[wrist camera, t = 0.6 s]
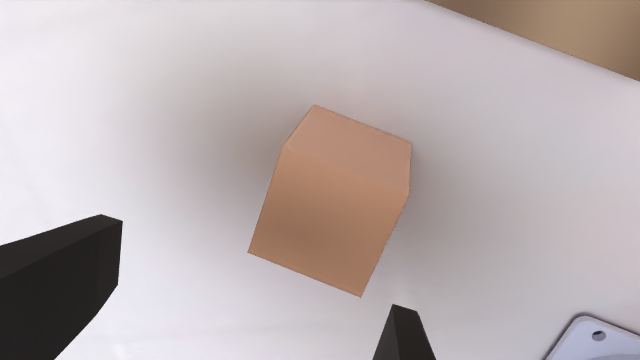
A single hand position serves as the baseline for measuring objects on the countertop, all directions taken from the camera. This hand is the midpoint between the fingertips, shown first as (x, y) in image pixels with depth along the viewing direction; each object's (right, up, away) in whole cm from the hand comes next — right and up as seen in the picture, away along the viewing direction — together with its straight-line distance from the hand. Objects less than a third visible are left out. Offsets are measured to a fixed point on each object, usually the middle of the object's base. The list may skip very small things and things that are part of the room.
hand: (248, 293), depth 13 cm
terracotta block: (+3, +3, +7) cm, 9 cm away
